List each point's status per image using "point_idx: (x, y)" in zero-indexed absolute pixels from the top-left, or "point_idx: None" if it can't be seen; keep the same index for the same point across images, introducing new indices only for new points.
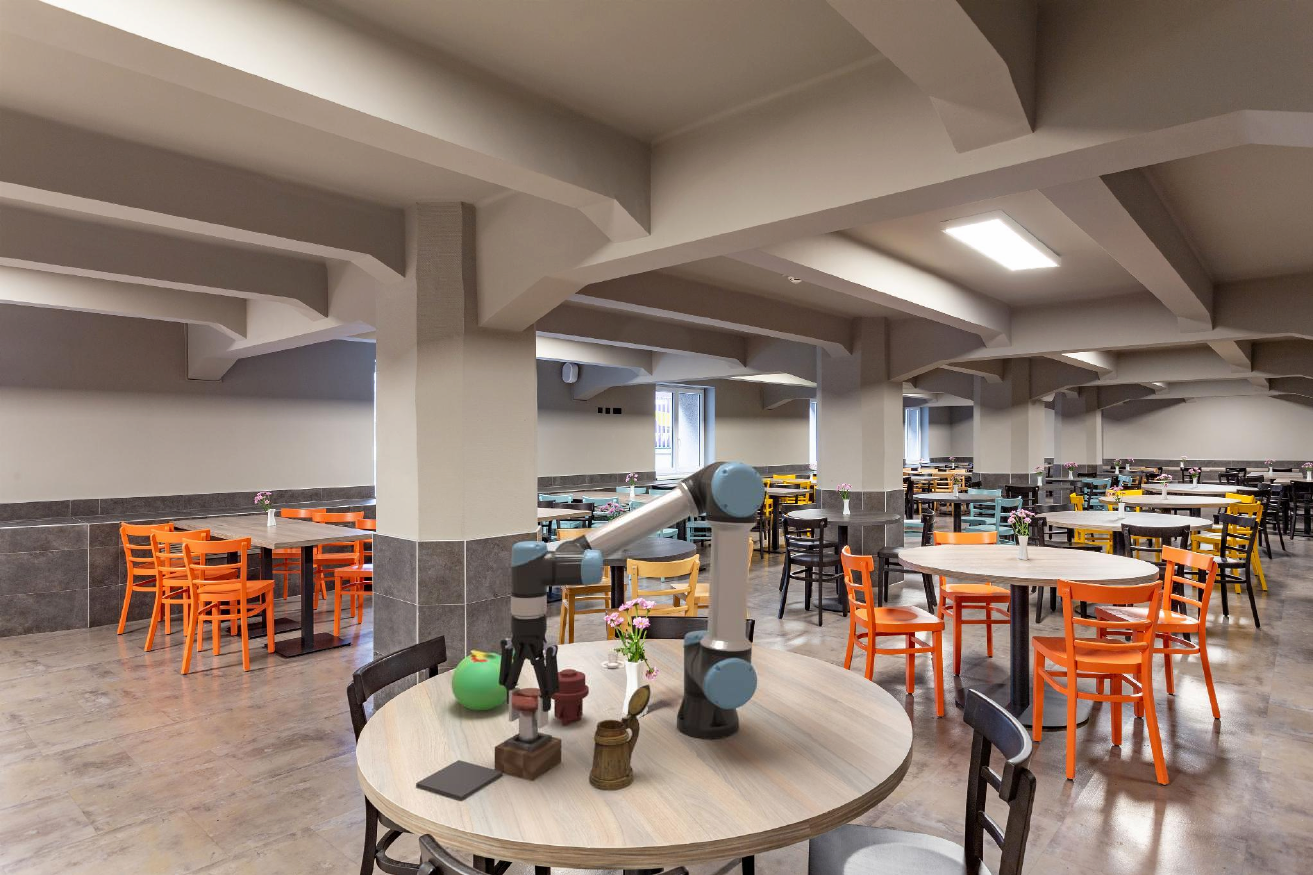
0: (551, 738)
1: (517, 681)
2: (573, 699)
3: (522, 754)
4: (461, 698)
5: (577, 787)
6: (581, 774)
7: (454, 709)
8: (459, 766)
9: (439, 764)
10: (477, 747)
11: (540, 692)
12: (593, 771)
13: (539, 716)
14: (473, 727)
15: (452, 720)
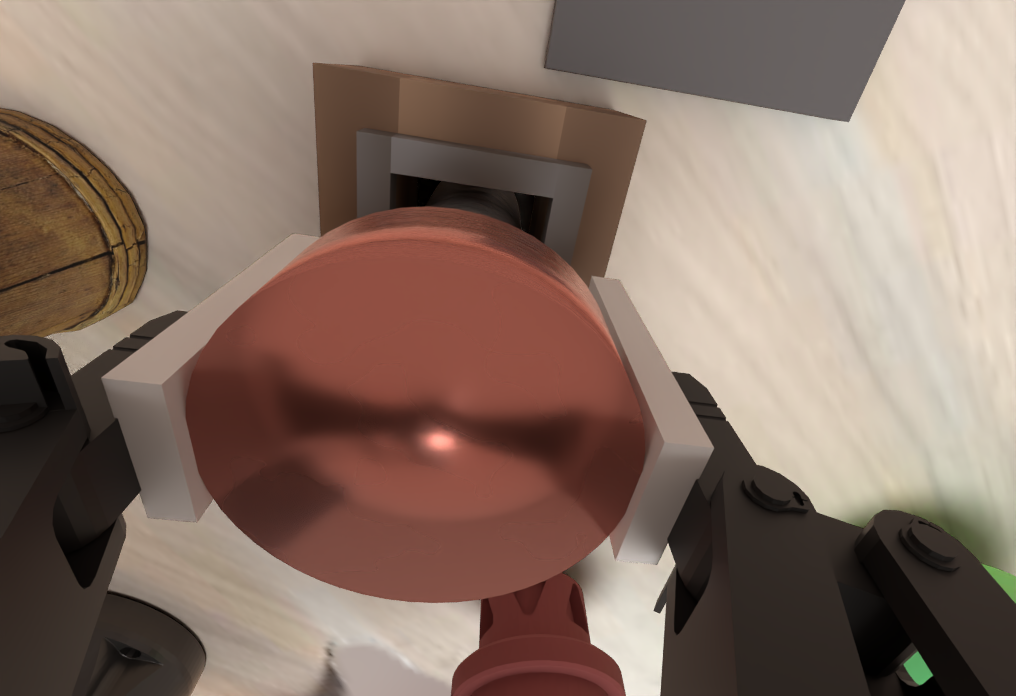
0: None
1: (665, 632)
2: (481, 652)
3: (405, 78)
4: (1009, 577)
5: (107, 83)
6: (198, 224)
7: (984, 550)
8: (820, 42)
9: (945, 74)
10: (794, 312)
11: (307, 529)
12: (20, 160)
13: (262, 269)
14: (868, 458)
15: (974, 483)
